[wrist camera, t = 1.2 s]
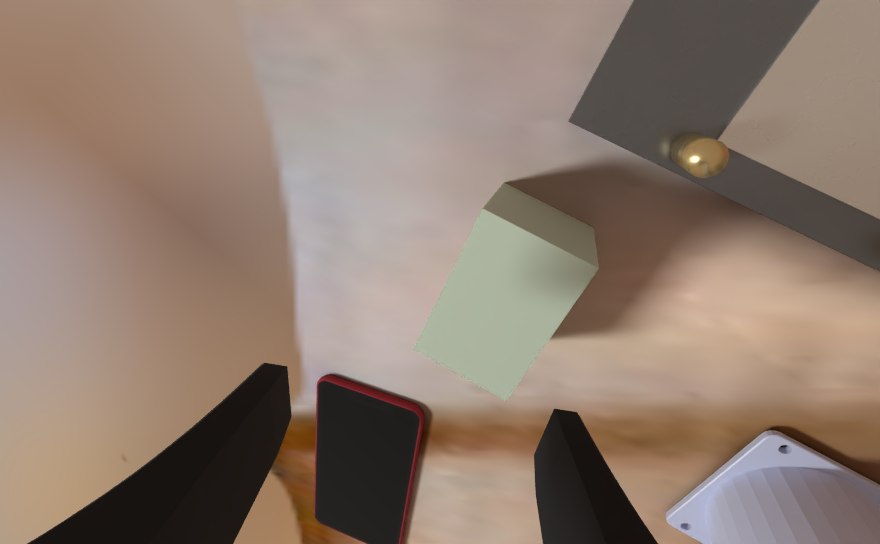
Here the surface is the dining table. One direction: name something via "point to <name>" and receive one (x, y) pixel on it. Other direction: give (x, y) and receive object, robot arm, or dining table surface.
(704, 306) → the dining table surface
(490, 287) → the board block
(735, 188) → the chassis
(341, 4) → the dining table surface
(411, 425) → the smartphone
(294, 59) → the dining table surface
